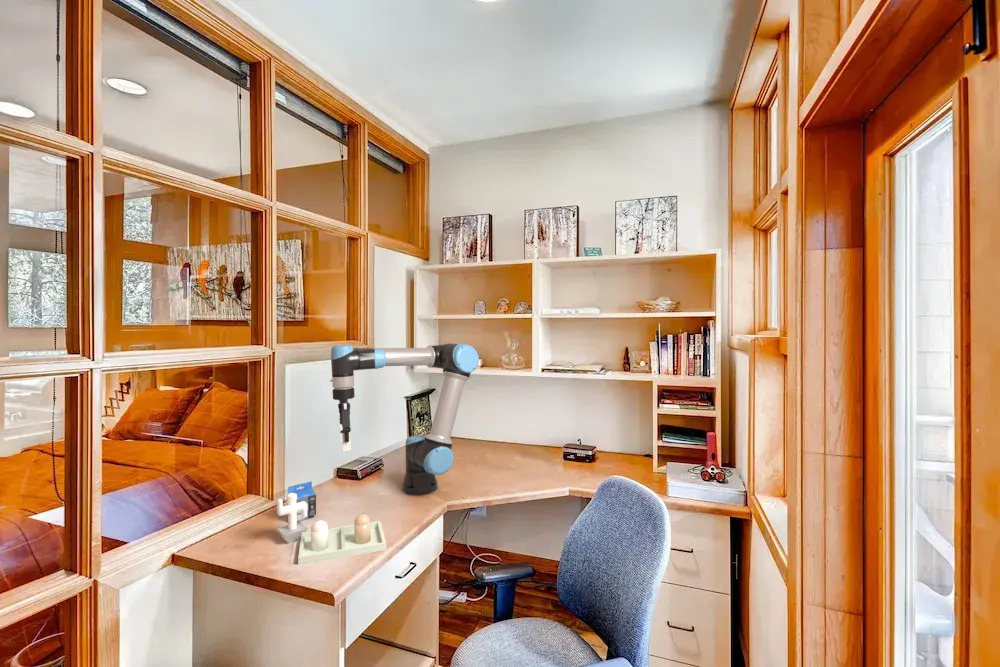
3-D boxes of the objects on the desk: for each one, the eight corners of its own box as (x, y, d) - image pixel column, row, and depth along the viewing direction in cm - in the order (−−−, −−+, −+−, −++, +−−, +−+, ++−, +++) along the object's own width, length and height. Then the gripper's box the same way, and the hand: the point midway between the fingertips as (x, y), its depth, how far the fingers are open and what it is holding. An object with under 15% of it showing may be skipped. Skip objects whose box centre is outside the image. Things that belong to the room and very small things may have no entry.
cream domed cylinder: (328, 542, 147) (328, 516, 147) (328, 549, 142) (327, 522, 142) (311, 545, 145) (311, 518, 145) (310, 552, 140) (310, 525, 140)
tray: (380, 529, 159) (380, 520, 159) (386, 552, 142) (386, 543, 142) (302, 541, 150) (301, 532, 150) (298, 568, 133) (298, 557, 133)
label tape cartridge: (291, 523, 164) (291, 489, 164) (287, 520, 167) (287, 487, 167) (316, 516, 170) (316, 483, 170) (312, 513, 173) (311, 481, 173)
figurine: (311, 538, 153) (310, 493, 153) (281, 547, 146) (281, 500, 146) (302, 531, 158) (302, 487, 158) (273, 540, 151) (273, 495, 151)
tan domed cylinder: (370, 536, 151) (369, 510, 151) (371, 542, 147) (370, 516, 147) (354, 538, 150) (353, 512, 150) (354, 545, 145) (354, 518, 145)
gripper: (331, 384, 177) (333, 439, 177) (333, 393, 154) (336, 456, 154) (351, 383, 179) (353, 437, 180) (357, 391, 156) (359, 453, 157)
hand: (345, 446), depth 167 cm, fingers open, 13 cm apart
